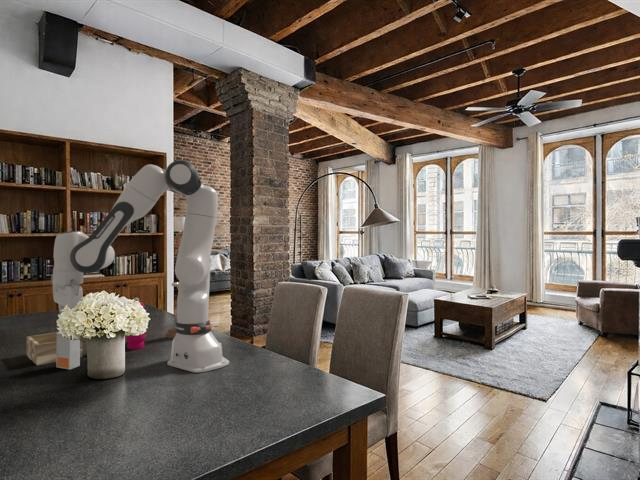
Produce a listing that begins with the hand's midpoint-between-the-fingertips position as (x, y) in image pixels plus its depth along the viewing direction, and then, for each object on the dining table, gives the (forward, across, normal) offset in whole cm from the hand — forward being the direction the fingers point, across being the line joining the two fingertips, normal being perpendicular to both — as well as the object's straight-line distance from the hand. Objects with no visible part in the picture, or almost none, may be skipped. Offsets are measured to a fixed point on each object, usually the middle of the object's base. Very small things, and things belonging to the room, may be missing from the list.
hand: (67, 319), depth 136 cm
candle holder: (+16, +11, -49) cm, 52 cm away
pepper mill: (+16, +8, -27) cm, 32 cm away
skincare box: (+17, 0, -1) cm, 17 cm away
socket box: (+16, +17, -1) cm, 23 cm away
